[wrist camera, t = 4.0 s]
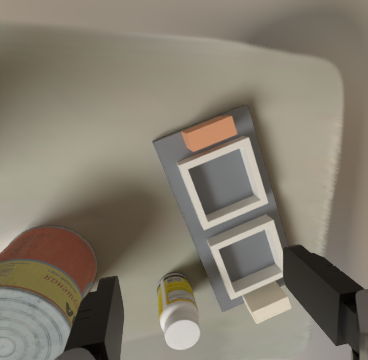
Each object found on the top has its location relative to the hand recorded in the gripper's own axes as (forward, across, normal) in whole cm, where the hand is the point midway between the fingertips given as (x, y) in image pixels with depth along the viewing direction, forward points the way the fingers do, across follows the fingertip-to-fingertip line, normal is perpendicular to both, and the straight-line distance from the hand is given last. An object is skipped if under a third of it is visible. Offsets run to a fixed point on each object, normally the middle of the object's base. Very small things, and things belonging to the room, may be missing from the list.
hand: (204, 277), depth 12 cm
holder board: (+21, -8, +6) cm, 23 cm away
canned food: (+21, +16, +10) cm, 28 cm away
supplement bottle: (+21, +1, +16) cm, 27 cm away
